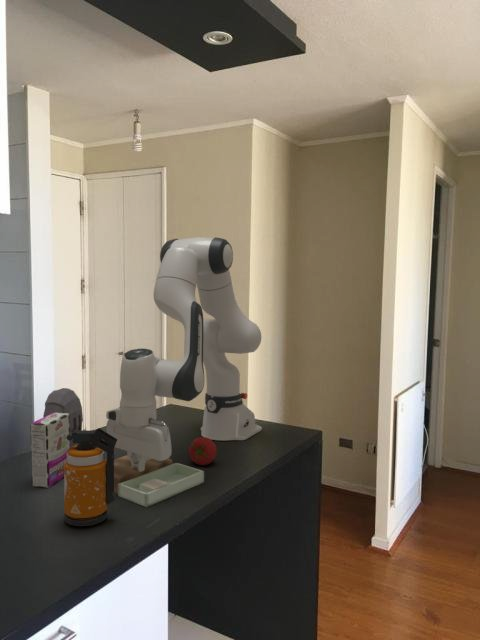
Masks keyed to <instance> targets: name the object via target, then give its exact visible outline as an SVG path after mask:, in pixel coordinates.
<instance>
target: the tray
mask: <svg viewBox="0 0 480 640" xmlns="http://www.w3.org/2000/svg"><path fill="white" fill-rule="evenodd" d="M152 479H158V480H161V481H164V482H167V483H169V484H168V485H166V486H163V487H161V488H158V489H156V490H153V491H151V492H148V493H145V492H142V491H140V484H141V483H144V482H147V481H149V480H152ZM204 483H205V471H204V470H201V469H199V468H195V467H192V466H190V465H189V466H188V465H185V464H182V463H178V462H174V463H172V464H171V465H169V466H166V467H163V468H160V469H158V470H155V471H152V472H150V473H147V474H144V475H141V476H139V477H136V478H133V479H130V480H128V481H125V482H122V483H120V484H118V494H117V497H120V498H122V499H124V500H126V501H129V502H131V503H134V504H136V505H139V506H142V507H144V508H149V507H151V506H153V505H155V504H158V503H160V502H162V501H166V500H167V499H169V498H171V497H174V496H177V495H179V494H181V493H182V492H183V493H184V492H186V491H187V490H190V489H192V488H195V487H197V486H199V485H201V484H204Z"/></svg>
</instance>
